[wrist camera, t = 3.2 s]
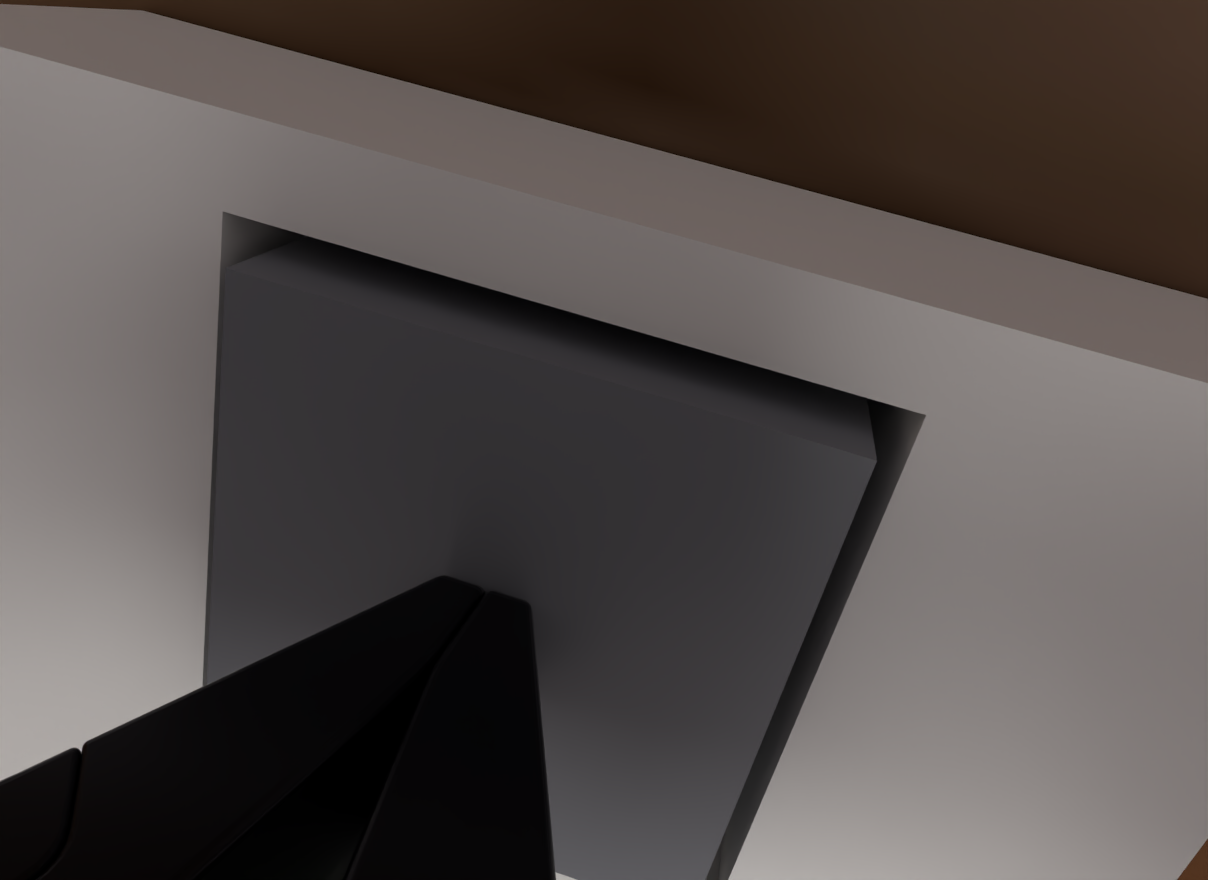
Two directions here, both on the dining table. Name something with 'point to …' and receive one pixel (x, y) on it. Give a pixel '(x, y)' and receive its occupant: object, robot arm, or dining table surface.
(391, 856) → the robot arm
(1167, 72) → the dining table surface
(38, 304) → the button panel
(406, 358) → the charcoal button
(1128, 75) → the dining table surface
